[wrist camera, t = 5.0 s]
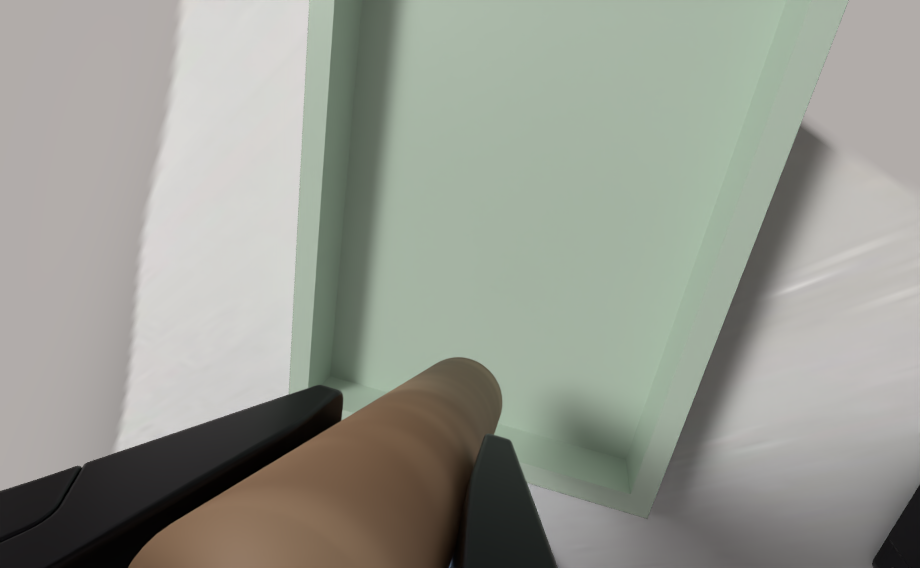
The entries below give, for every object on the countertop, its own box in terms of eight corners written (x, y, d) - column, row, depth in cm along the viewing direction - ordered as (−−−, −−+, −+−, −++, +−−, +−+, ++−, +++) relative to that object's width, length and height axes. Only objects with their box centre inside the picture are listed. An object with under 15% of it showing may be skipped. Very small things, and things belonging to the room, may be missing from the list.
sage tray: (898, -239, 12) (975, -325, 10) (639, 472, 20) (647, 518, 17) (368, -268, 14) (327, -344, 12) (318, 380, 22) (287, 410, 20)
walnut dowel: (539, 250, 12) (393, 688, 3) (495, 437, 14) (320, 1074, 5) (447, 230, 13) (38, 549, 3) (416, 414, 14) (107, 959, 5)
